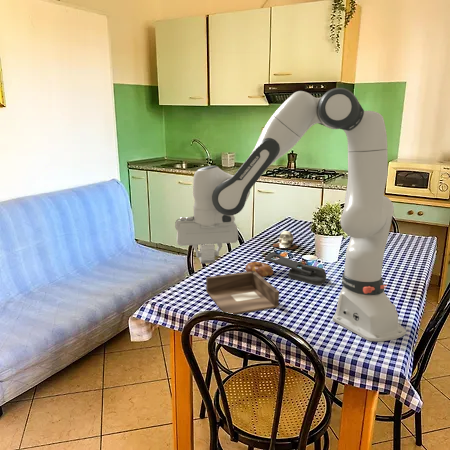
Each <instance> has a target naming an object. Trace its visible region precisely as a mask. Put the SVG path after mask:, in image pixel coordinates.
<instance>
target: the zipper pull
mask: <svg viewBox="0 0 450 450" xmlns="http://www.w3.org/2000/svg"><path fill="white" fill-rule="evenodd" d="M273 258H277V259H273ZM264 260H265V261H266V262H267V261H268V262H271V263H272V264H277V265H278V266H279V265H280V266H283V267H285V268H289V269H288V279H292V280H295V281H300V282H303V283H306V284H310V285H313V286H314V285H315V286H316V285H318V286H319V285H320V286H321V285H323V284H325V283H326V282H327V273H326V270H325V269H324V268H322V267H319V266H315V265H309V264H303V263H300V262H298V261H295V260H294V259H293V260H292V259H291V258H287V257H285V256H282V255H280V254H277V253H276V252H272V253H271V252H270V253H268V254H267V255H266V256H265V257H264Z"/></svg>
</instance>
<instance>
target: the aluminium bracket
mask: <svg viewBox="0 0 450 450" xmlns="http://www.w3.org/2000/svg"><path fill="white" fill-rule="evenodd" d="M215 245H216V244H203V245H199V246H200V251H201V257H198V259H199V261H200V263H201V264H212V263H213V264H215V261H216V260H215V257H216V256H215V250H216V249H215V248H216V247H215Z"/></svg>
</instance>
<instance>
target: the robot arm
mask: <svg viewBox="0 0 450 450" xmlns="http://www.w3.org/2000/svg"><path fill="white" fill-rule="evenodd" d="M316 124H319V125H321V126H323V127H326V128H327V129H331V130H342V131H344V133H345V135H346V139H347V140H346V141H347V173H348V174H347V186H346V191H345V198H344V205H343V206H344V207H343V211H342V213H341V216H340V226H341V229H342V231H343V232H344V234H346V235H347V236H349V238H350V239H349V242H348V245H347V247H346V249H345V258H344V259H345V262H344V271H343V273H342V277H341V285H342V287H341V291H340V293H339V295H338V300H337V306H336V310H335V314H333V316H332V321H333V322H334V323H336V324H338V325H339V326H341V327H343V328H345V329H347V330H349V331H351V332H353V333H354V334H356V335H358V336H359V337H361V338H363V339H365V340H367V341H371V342H385V341H392V340H396V339H399V338H402V337H404V336H405V335H406V333H407V329H406V328H405V327H403V326H402V325H401V324H400V323H399V313H398V311H397V310H396V309H397V308H396V305H395V304H394V303H392V302H391V300H390V298H389V297H388V295H387V294H386V293H385V289H387V288H388V287H387V286H388V284H384V280H383V276H382V272H383V264H384V256H385V251H386V246H387V242H388V239H389V236H390V235H389V233H390V231H391V230H390V229H391V224H392V220H393V217H394V216H393V215H394V211H395V207H394V204H393V202H392V200H391V199H390V198H389V197H388V196H386V195H384V194H385V188H386V184H387V183H386V182H387V179H388V176H389V175H388V173H389V172H388V171H389V170H388V161H389V160H388V159H389V158H388V155H389V153H388V135H387V128H386V124H385V119H384V116H383V115H382V114H380V112H377V111H374V110H365V109H364V108H363V106H362V105H361V104H360V102H359V99H357V97H356V95H355V94H354V93H353V92H352V91H350V90H349V89H346V88H344V87H334V88H332V89H329V90H327V91H326V92H325V93H324V94H323V95H322V96H321V97H315V96H313V95H312V94H311V93H309V92H307V91H303V90H298V91H295V92H293V93H292V94H291V95H290V96H289V97H287V99H286V100H284V102H282V104H281V105H280V106H279V107H278V108H277V109H276V110H275V111H274V112H273V114H272V115H271V116H270V118H269V119H268V120H267V122H266V123H265V125H264V127H263V129H262V131H261V132H260V134H259V137H258V139H257V141H256V144H255V146H254V147H253V149H252V151H251V153H250V155H249V156H248V157H247V158H246V160H245V161H244V162H243V164H242V165H241V166H240V167H239V168H238V170H237V171H236V173H235V174H231V173H228V172H226V171H224V170H222V169H221V168H220V167H219V166H217V165H207V166H203V167H200V168H198V169H197V170H196V171H195V172H194V174H193V178H192V179H193V181H192V183H193V185H192V193H193V194H192V195H193V198H194V199H193V201H194V202H193V206H192V207H193V208H192V209H193V216H185V217H184V216H180V217H179V218H177V219H176V220H175V226H174V227H175V229H176V231H177V232H176V244H177V245H178V246H180V247H182V246H185V247H186V246H192V247H193V249H194V251H195V255H196V258H199V257H201V250H199V249H198V247H199V246H200V245H208V244H214V245H217V248H216V249H215V257H219V256H220V251H221V249H222V247H223V244H235V243H237V242H238V240H239V231H238V226H237V224H236V223H235V220H236V219H235V218H236V217H235V215H238V213H240V212H242V210H244V207H245V204H246V202H247V200H248V199H249V196H250V193H251V189H252V188H253V187H254V186H255V184H257V183H256V182H258V180H260V177H262V175H263V174H264V173H265V172H266V170H268V169H269V167H271V165H272V164H274V163H275V162H277V160H278V159H281V158H282V157H284V155H286V154H287V153H288V152H289V151H291V149H292V148H294V146H296V145H297V143H299V141H300V140H302V138H303V137H304V135H305V134H306V133H307V132H308V131H309V130H310V129H311V127H313V126H315V125H316Z"/></svg>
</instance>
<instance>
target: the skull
mask: <svg viewBox="0 0 450 450" xmlns="http://www.w3.org/2000/svg"><path fill="white" fill-rule="evenodd" d="M278 241H279V242H276V243H274V244H272V246H273V247H274V248H276V247H285V248H288V249H287V250H294V249H295V250H296V249H297V248H299V247H298V246H299V245H297V244H295V245H294V244H293V243H294V235H293V234H292V233H291V232H290V231H289V230H288V231H287V230H284V231H282V232H281V233H280V235H279V238H278Z"/></svg>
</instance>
